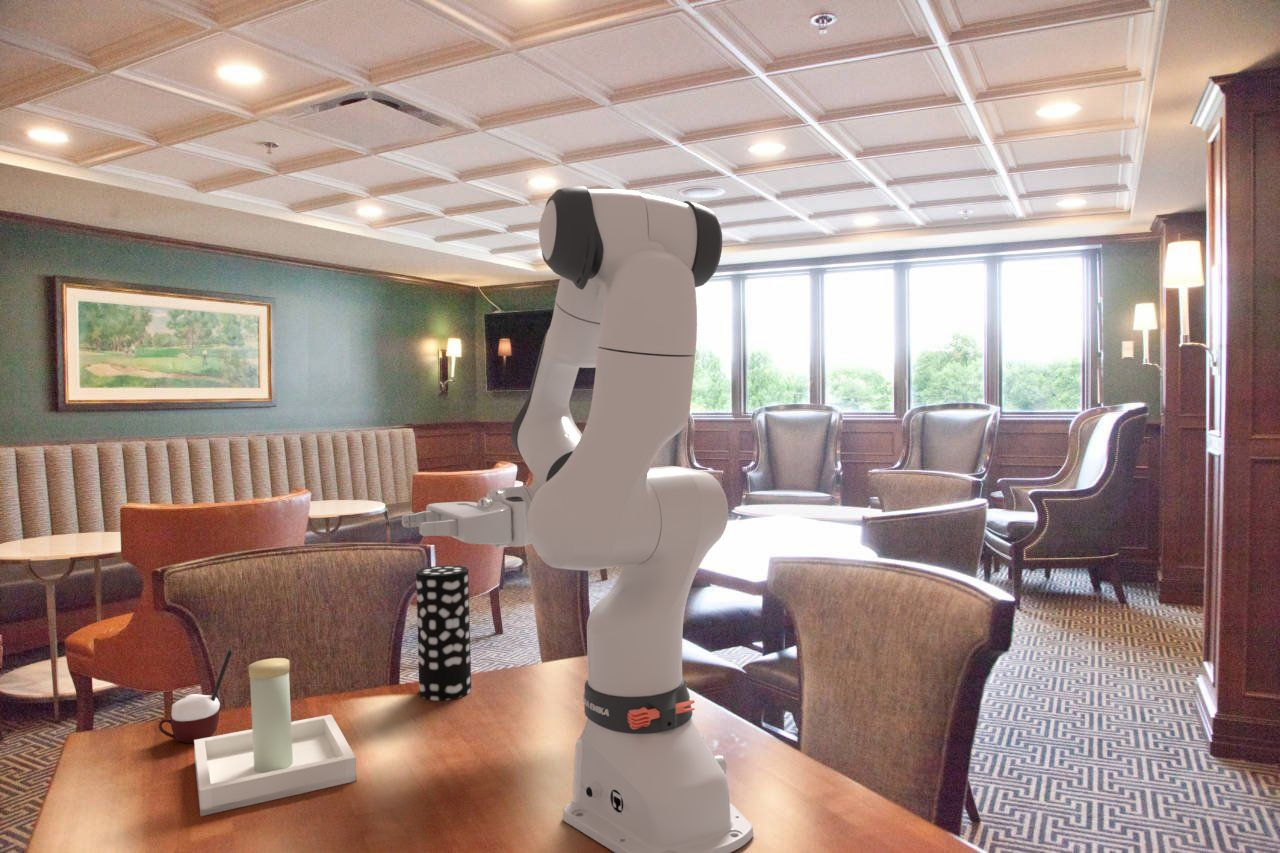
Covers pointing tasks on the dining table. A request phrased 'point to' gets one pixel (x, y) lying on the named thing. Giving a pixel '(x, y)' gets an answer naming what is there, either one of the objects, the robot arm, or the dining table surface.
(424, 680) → the spotted tube
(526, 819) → the dining table surface
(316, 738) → the dish
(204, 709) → the cocoa
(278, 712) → the tea tin
